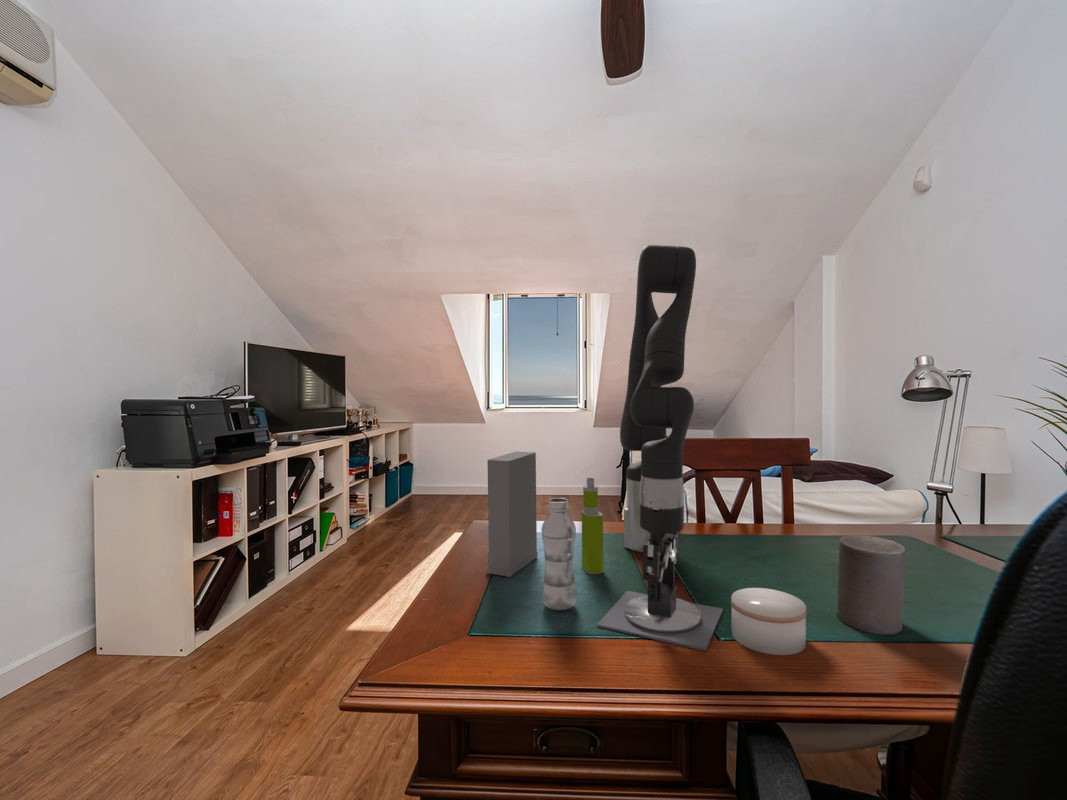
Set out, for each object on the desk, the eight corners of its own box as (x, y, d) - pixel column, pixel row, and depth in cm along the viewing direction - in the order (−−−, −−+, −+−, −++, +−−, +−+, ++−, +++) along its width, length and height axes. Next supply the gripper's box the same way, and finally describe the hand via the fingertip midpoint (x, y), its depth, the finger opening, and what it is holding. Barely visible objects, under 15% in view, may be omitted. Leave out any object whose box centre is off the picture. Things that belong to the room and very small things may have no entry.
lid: (614, 623, 92) (614, 595, 92) (637, 595, 103) (637, 570, 103) (691, 640, 86) (691, 610, 85) (707, 608, 97) (707, 581, 97)
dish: (725, 645, 85) (725, 607, 85) (735, 616, 95) (736, 583, 95) (805, 662, 80) (805, 622, 79) (807, 630, 89) (807, 595, 89)
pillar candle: (824, 615, 95) (826, 532, 94) (860, 605, 99) (863, 524, 98) (879, 640, 86) (881, 548, 85) (916, 628, 90) (919, 540, 89)
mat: (597, 626, 92) (597, 624, 92) (627, 592, 106) (627, 590, 106) (705, 651, 83) (705, 648, 83) (723, 610, 97) (723, 608, 97)
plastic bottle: (581, 602, 102) (580, 497, 101) (571, 617, 95) (570, 505, 94) (548, 597, 104) (547, 495, 103) (537, 612, 97) (536, 503, 96)
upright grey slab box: (514, 554, 129) (513, 451, 128) (537, 557, 127) (536, 452, 126) (485, 573, 117) (483, 459, 116) (510, 578, 114) (508, 461, 113)
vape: (595, 563, 122) (595, 476, 121) (605, 573, 116) (604, 481, 116) (580, 565, 121) (579, 477, 120) (589, 574, 116) (588, 482, 115)
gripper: (652, 491, 102) (652, 575, 102) (627, 508, 89) (627, 604, 90) (692, 495, 98) (692, 582, 99) (673, 513, 85) (672, 613, 86)
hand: (661, 592), depth 94 cm, fingers open, 8 cm apart
